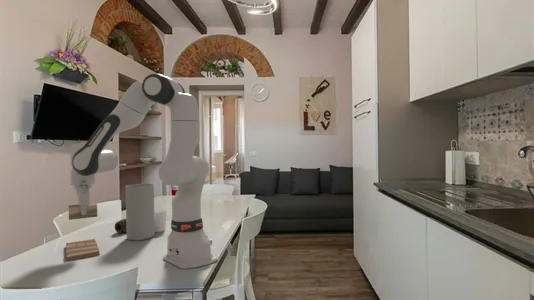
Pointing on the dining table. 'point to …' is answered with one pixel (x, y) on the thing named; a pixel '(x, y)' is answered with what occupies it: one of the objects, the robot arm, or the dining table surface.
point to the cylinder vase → (140, 211)
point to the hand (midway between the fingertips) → (83, 213)
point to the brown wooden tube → (121, 226)
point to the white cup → (160, 220)
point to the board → (81, 249)
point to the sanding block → (76, 211)
